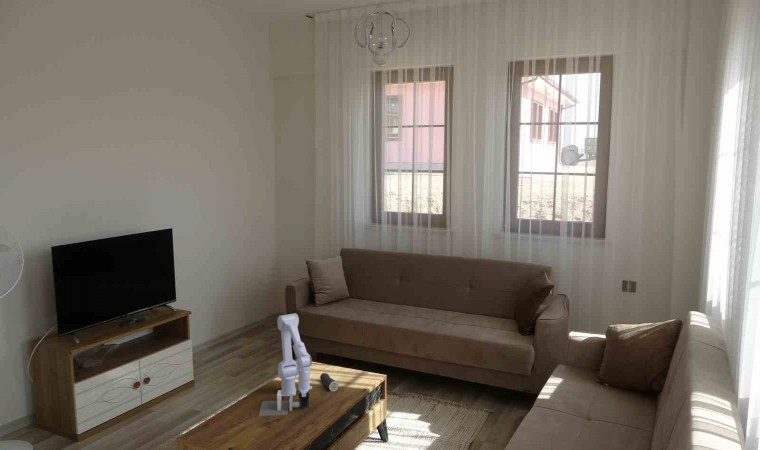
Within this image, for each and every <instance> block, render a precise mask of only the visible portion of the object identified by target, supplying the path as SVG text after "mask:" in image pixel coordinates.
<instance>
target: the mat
mask: <svg viewBox="0 0 760 450" xmlns="http://www.w3.org/2000/svg"><path fill="white" fill-rule="evenodd" d="M289 400H290V399H289ZM289 400H281V404H282V405H281V410H277V400H265V401H264V400H263V401H261V405H260V408H259V414H258V416H259V417H267V416H268V417H269V416H287V415H288V414H289V408H290V403H289Z"/></svg>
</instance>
